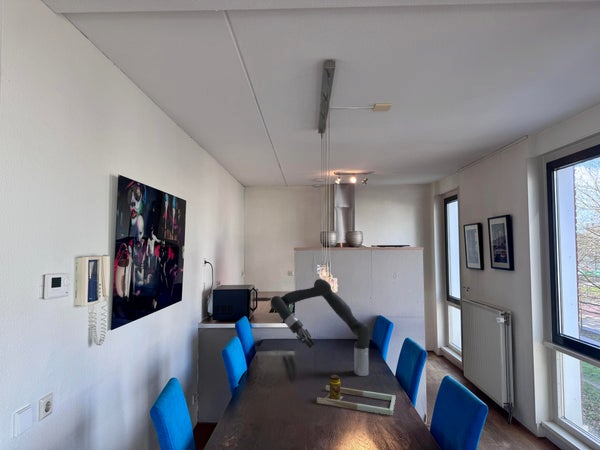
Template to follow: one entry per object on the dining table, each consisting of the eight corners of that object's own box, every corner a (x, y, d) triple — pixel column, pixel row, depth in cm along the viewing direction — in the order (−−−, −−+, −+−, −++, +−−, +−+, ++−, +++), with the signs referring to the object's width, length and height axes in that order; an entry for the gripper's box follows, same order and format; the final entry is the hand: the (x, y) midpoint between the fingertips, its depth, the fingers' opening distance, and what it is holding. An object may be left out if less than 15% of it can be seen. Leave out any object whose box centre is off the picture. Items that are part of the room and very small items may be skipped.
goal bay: (363, 395, 193) (363, 390, 193) (395, 400, 187) (395, 395, 187) (357, 409, 176) (357, 404, 176) (392, 415, 169) (392, 410, 170)
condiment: (338, 402, 184) (338, 379, 185) (324, 398, 188) (324, 376, 189) (343, 397, 191) (343, 375, 191) (329, 393, 195) (329, 372, 196)
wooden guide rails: (326, 389, 201) (326, 385, 201) (363, 395, 193) (363, 390, 193) (316, 402, 183) (316, 398, 184) (357, 409, 176) (357, 404, 176)
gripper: (293, 321, 198) (313, 345, 192) (301, 317, 211) (320, 338, 206) (284, 330, 199) (304, 353, 194) (293, 325, 212) (312, 346, 207)
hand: (312, 345), depth 200 cm, fingers open, 3 cm apart
